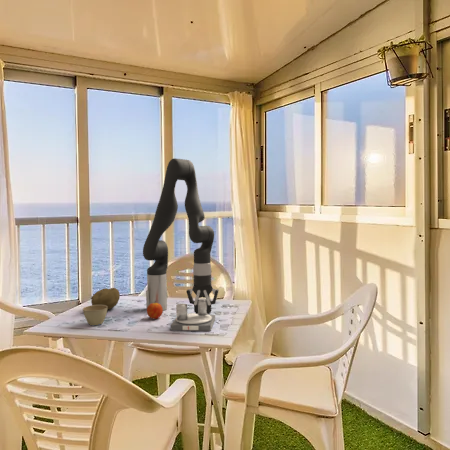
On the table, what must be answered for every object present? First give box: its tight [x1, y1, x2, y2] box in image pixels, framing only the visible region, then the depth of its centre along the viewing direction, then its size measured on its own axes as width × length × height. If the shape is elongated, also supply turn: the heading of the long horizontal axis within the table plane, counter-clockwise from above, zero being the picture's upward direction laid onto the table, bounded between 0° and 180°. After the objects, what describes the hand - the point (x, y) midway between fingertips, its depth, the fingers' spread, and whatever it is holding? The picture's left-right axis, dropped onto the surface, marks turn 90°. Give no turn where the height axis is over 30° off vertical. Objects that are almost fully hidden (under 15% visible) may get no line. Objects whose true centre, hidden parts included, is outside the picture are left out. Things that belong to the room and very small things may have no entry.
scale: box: [170, 312, 216, 332], centre depth 171 cm, size 16×17×3 cm
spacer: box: [197, 298, 209, 316], centre depth 173 cm, size 4×4×6 cm
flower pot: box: [82, 304, 108, 326], centre depth 174 cm, size 10×10×7 cm
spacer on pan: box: [175, 303, 188, 321], centre depth 169 cm, size 4×4×6 cm
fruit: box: [146, 301, 164, 320], centre depth 182 cm, size 7×7×8 cm
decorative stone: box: [90, 287, 121, 311], centre depth 198 cm, size 17×11×10 cm, turn 164°
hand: (202, 313), depth 174 cm, fingers closed on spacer, 4 cm apart
